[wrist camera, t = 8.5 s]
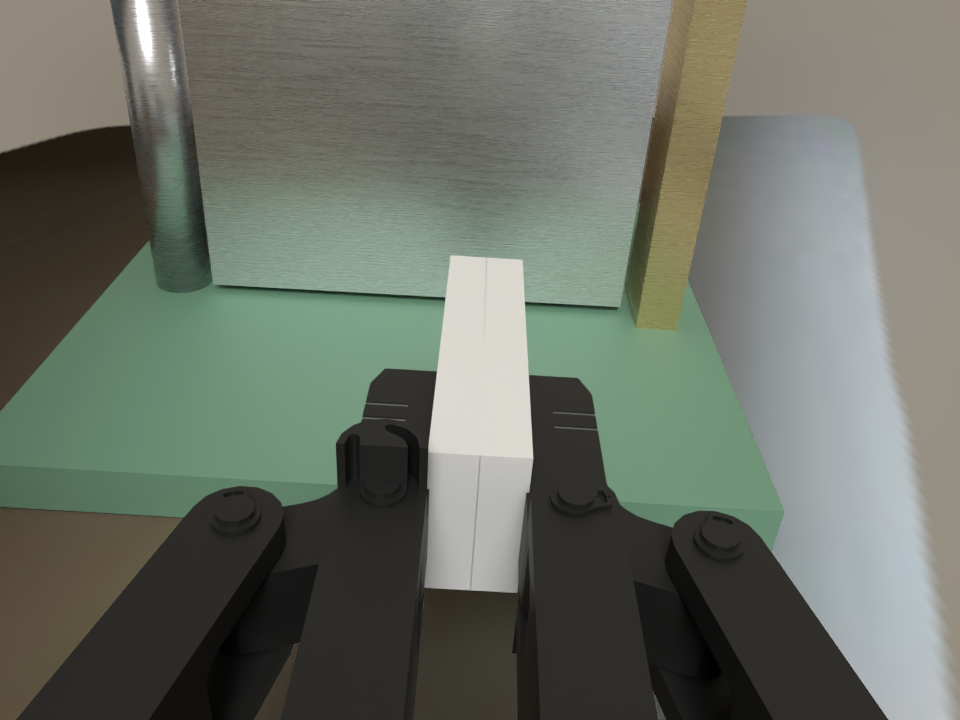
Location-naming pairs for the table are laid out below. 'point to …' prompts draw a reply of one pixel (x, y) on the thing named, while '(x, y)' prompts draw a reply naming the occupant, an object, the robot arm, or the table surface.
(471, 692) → the table surface
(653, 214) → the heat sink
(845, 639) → the table surface
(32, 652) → the table surface
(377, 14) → the grey flat slab
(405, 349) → the motherboard
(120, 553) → the table surface
